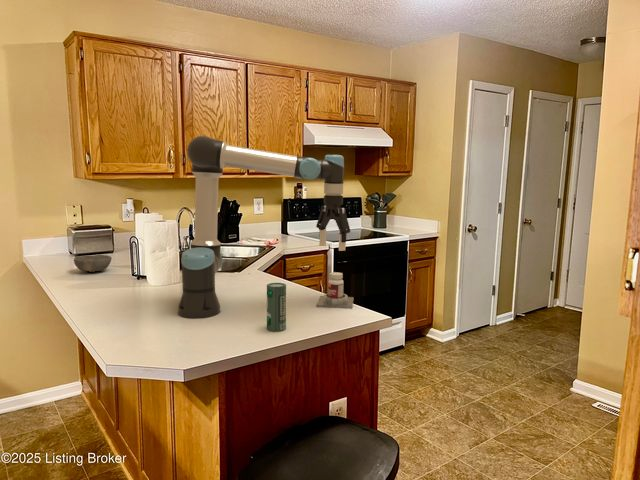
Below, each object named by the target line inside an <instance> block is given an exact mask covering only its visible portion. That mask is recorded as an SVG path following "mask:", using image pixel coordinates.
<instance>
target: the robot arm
mask: <svg viewBox="0 0 640 480" xmlns="http://www.w3.org/2000/svg"><path fill="white" fill-rule="evenodd" d="M186 149H187V150H186V155H187V158H188V160H189V161H190V163H191V173H192V175H193V176H194V177H195V193H194V194H195V196H194V198H195V200H194V201H195V205H194V207H195V208H194V209H195V210H194V238H193V240H192V241H191V242H190V248H188V249H185V250H184V251H183V252H182V254H181V261H180V263H181V277H182V278H181V279H182V280H181V283H182V286H181V287H182V294H181V297H180V301H179V304H178V308H177V310H178V313H177V314H178V316H180V317H183V318H190V319H201V318H202V319H203V318H209V317H214V316H216V315H218V314H220V312H221V305H220V301H219V298H218V295H217V293H216V273H217V272H218V271H219V270H220V269H221V267H222V264H223V256H222V253H221V251H222V250H221V248H222V245H221V244H222V243H221V241H219V239H218V219H219V218H218V214H219V213H218V208H219V179H220V178H221V176H223V174H224V173H223V170H224V168H225V167H228V168H236V169H241V170H246V171H247V170H248V171H255V172H262V173H267V174H275V175H281V176H288V177H293V178H295V179H299V180H310V181H311V180H324V184H323V185H324V186H323V193H324V196H323V204H324V205H321V206H320V212H319V216H318V219H317V223H316V226H315V227H316V228H318V230H319V235H318V236H319V246H320V247H325V246H327V226H328V224H329V223H330V220H331V219H333V220H334V221H335V223H336V226H337V229H338V230H339V233H338V251H339V252H340V251H341V252H342V251H344V252H345V251H346V245H347V244H346V243H347V234H350V233H351V229H350V224H349V220H348V216H347V209H346V208H345V207H341V206H343V204H344V196H343V194H344V180H345V179H344V178H345V176H344V175H345V158H344V156H343V155H340V154H326V155H325V156H324V159H315V158H313V157H305V156H297V155H294V154H293V155H291V154H287V153H286V154H285V153H281V152H280V153H279V152H275V151H268V150H262V149H255V148H249V147H243V146H236V145H232V144H231V145H230V144H228V143H227V141H225V140H218V139H215V138H212V137H210V136H207V135H198V136H196V137H194V138H192V139H191V140H190V142H189V143H188V144H187V148H186Z"/></svg>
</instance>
